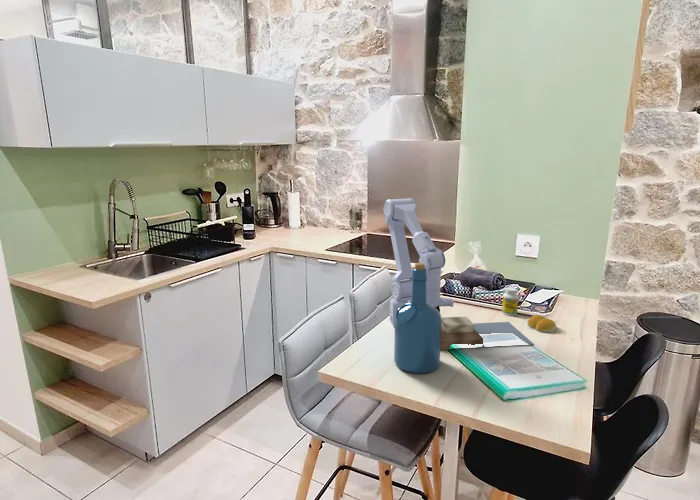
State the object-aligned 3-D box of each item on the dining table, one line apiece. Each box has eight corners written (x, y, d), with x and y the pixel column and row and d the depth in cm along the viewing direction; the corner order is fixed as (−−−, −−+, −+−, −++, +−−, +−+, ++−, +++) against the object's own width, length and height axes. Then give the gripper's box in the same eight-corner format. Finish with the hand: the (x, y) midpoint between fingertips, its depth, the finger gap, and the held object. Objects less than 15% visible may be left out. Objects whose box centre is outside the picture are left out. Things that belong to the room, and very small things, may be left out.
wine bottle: (419, 349, 138) (421, 255, 131) (450, 367, 127) (454, 265, 121) (383, 361, 131) (384, 262, 124) (413, 380, 120) (416, 273, 113)
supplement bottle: (516, 311, 169) (518, 287, 167) (517, 316, 164) (519, 291, 162) (501, 310, 171) (503, 286, 168) (501, 315, 166) (503, 290, 163)
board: (438, 350, 138) (439, 341, 137) (423, 327, 155) (424, 319, 155) (482, 347, 139) (483, 338, 139) (463, 325, 157) (463, 317, 156)
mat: (484, 347, 139) (484, 346, 139) (464, 325, 157) (464, 323, 157) (533, 345, 141) (533, 343, 141) (508, 323, 158) (508, 321, 158)
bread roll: (546, 335, 149) (547, 324, 148) (523, 326, 156) (524, 315, 155) (561, 329, 153) (562, 318, 152) (538, 321, 160) (539, 310, 159)
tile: (446, 333, 143) (446, 325, 142) (440, 324, 150) (440, 317, 149) (473, 331, 144) (474, 324, 143) (466, 323, 151) (466, 316, 150)
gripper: (411, 292, 138) (410, 333, 141) (457, 291, 139) (455, 331, 143) (406, 285, 145) (405, 325, 148) (450, 284, 146) (448, 323, 149)
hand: (429, 327), depth 146 cm, fingers closed
